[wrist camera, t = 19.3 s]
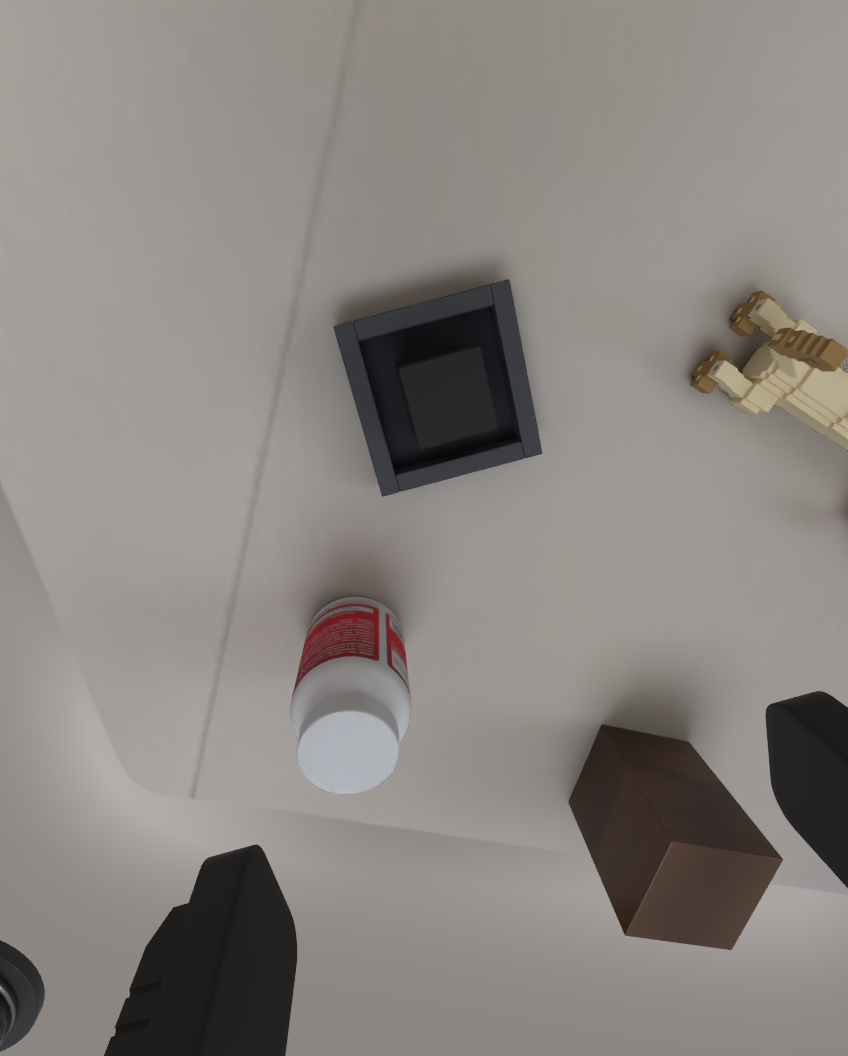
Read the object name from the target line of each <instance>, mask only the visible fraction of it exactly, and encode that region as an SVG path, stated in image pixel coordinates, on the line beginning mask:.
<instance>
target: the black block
mask: <svg viewBox="0 0 848 1056" xmlns="http://www.w3.org/2000/svg"><path fill="white" fill-rule="evenodd" d="M395 367H396V371H397V375H398V379H399V382H400V386H401V390H402V393H403V397H404V401H405V405H406V408H407V412H408V416H409V419H410V423H411V427H412V430H413V434H414V437H415V439H416V442H417V444H418V446H419V448H420V450H422V449H425V448H429V447H433V446H436V445H440V444H443V443H447V442H451V441H454V440H458V439H461V438H465V437H469V436H472V435H476V434H479V433H483V432H487V431H490V430H494V429H497V428H498V424H497V419H496V415H495V410H494V406H493V401H492V397H491V392H490V388H489V383H488V379H487V374H486V370H485V365H484V361H483V356H482V352H481V347H480V346H465V347H461V348H458V349H454V350H451V351H447V352H443V353H440V354H436V355H433V356H429V357H425V358H422V359H418V360H415V361H411V362H407V363H404V364H400V365H397V366H395Z"/></svg>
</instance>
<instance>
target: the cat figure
mask: <svg viewBox="0 0 848 1056" xmlns="http://www.w3.org/2000/svg"><path fill="white" fill-rule="evenodd" d="M774 301H775V299H774V298H772V297H771V296H769V295H768V294H766V293H765V292H764V291H759V292H755V293H753V294H752V295H751V297H750V298H749V300H748V301H747V302H746V303H744V304H740V305H739V307H738V308H737V310H736V311H735V313H734V314H733V316H732V317H731V318H730V319H731V320H732V321H733V323H732V324H731V326H730V327H729V328H730V329H732V330H733V331H735V332H736V333H738V334H739V335H740V336H748V335H751V334H752V333H753V331H754V330H755V328H756V327H757V326H760V328H759V329H760V330H762V331H763V332H764V333H766V334H767V335H769V337H768V338H769V339H770V342H766V343H764V344H763V346H762V347H761V348H758V349H757V350H756V352H755V353H754V354H753V356H752V357H751V359H750V360H749V362H748V363H747V364H746V366H745V367H744V369H743V370H742V372H743V374H742V373H740V372H739V371H738V369H737V368H736V367H734V366H733V365H731V363H732V361H733V359H732V358H730V357H729V356H727V355H726V354H724V353H723V352H721V351H716V352H712V353H711V355H710V356H709V358H708V359H707V360H706V361H702V362H700V364H699V365H698V366H697V368H696V369H695V371H694V372H693V374H692V375H691V376H693V377H694V379H693V381H692V382H691V384H690V385H691V386H692V387H694V388H695V389H697V390H699V391H700V392H702V393H711V391H712V390H713V388H714V387H715V385H716V384H718V385H719V386H718V387H719V388H721V389H722V390H724V391H725V392H727V393H728V395H729V396H730V397H729V398H731V400H730V401H729V403H731V404H732V405H734V406H735V407H737V408H738V409H740V410H741V411H743V412H744V413H750V414H758V412H766V413H768V412H769V411H770V409H771V408H772V406H773V405H775V406H779V407H780V408H782V409H783V410H785V411H786V412H788V413H789V414H791V415H792V416H794V417H795V418H797V419H798V420H800V421H801V422H803V423H804V424H806V425H807V426H809V427H810V428H812V429H813V430H815V431H816V432H818V433H822V434H823V435H825V436H826V437H828V438H829V439H831V440H832V441H834V442H835V443H837V444H838V445H840V446H841V447H843V448H844V449H846V450H847V451H848V374H847V373H846V372H844V371H843V370H842V369H840V368H839V365H840V364H841V363H842V361H843V360H844V359H845V357H846V356H847V355H848V353H847V351H848V349H846V348H845V347H843V346H842V345H840V344H839V343H838V342H836V341H835V340H833V339H829V340H828V339H827V338H825V337H824V336H817V335H816V333H817V330H815V329H814V328H813V327H811V326H810V325H808V324H807V323H806V322H804V321H803V320H801V319H797V320H790V319H789V318H787V317H786V315H787V314H786V313H785V312H783V311H782V310H781V308H782V307H781V306H779V305H778V304H776V303H775V302H774Z"/></svg>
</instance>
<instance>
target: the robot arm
mask: <svg viewBox="0 0 848 1056" xmlns="http://www.w3.org/2000/svg"><path fill="white" fill-rule="evenodd" d="M766 727H767V740H768V752H769V764H770V776H771V785H772V789H773V792H774V795H775V798H776V800H777V802H778V804H779V806H780V808H781V810H782V812H783V814H784V815H785V817H786V818H787V820H788V821H789V823H790V824H791V825H792V826H793V828H794V829H795V830H796V831H797V832H798V833H799V834H800V836H801V837H802V838H803V839H804V840H805V841H806V842H807V843H808V844H809V846H810V847H811V848H812V849H813V850H814V851H815V852H816V853H817V854H818V856H819V857H820V858H821V859H822V860H823V861H824V862H825V863H826V864H827V866H828V867H829V868H830V869H831V870H832V871H833V872H834V873H835V874H836V876H837V877H838V878H839V879H840V880H841V881H842V882H843V883H844V884H845V886H846V887H847V888H848V708H847V707H846V706H845V705H843V704H842V703H841V702H839V701H838V700H836V699H835V698H834V697H832V696H831V695H829V694H827V693H825V692H821V691H816V692H812V693H809V694H805V695H801V696H798V697H794V698H791V699H787V700H783V701H780V702H776V703H772V704H770V705H769V706H768V707H767V709H766ZM296 963H297V940H296V931H295V925H294V921H293V917H292V915H291V912H290V910H289V908H288V905H287V903H286V901H285V898H284V896H283V894H282V891H281V889H280V887H279V885H278V882H277V880H276V878H275V876H274V873H273V871H272V869H271V866H270V864H269V862H268V860H267V857H266V855H265V853H264V851H263V850H262V848H261V847H260V846H259V845H252V846H248V847H245V848H241V849H238V850H234V851H231V852H227V853H223V854H220V855H216V856H213V857H209V858H207V859H206V860H205V861H204V863H203V864H202V866H201V869H200V871H199V874H198V877H197V880H196V883H195V886H194V889H193V892H192V895H191V898H190V901H189V903H188V904H184V905H180V906H177V907H174V908H173V909H172V910H171V912H170V913H169V914H168V916H167V917H166V919H165V920H164V922H163V923H162V924H161V926H160V927H159V929H158V930H157V932H156V933H155V934H154V936H153V937H152V939H151V940H150V942H149V943H148V945H147V946H146V948H145V951H144V953H143V956H142V959H141V961H140V964H139V966H138V969H137V972H136V974H135V976H134V979H133V982H132V984H131V987H130V997H129V998H126V1000H125V1002H124V1005H123V1008H122V1011H121V1013H120V1015H119V1018H118V1021H117V1023H116V1026H115V1028H116V1033H115V1036H113V1037H111V1039H110V1041H109V1044H108V1047H107V1049H106V1052H105V1055H104V1056H285V1053H286V1045H287V1037H288V1029H289V1021H290V1013H291V1005H292V997H293V989H294V981H295V973H296V965H297V964H296ZM18 1011H19V1005H18V1000H17V997H16V994H15V992H14V991H13V989H12V987H11V986H10V985H9V984H8V983H7V982H6V981H5V980H4V979H3V978H2V977H1V976H0V1046H1V1044H2V1042H3V1041H4V1039H5V1038H6V1037H7V1036H8V1034H9V1032H10V1031H11V1029H12V1027H13V1025H14V1023H15V1021H16V1019H17V1016H18Z"/></svg>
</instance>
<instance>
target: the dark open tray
mask: <svg viewBox="0 0 848 1056" xmlns="http://www.w3.org/2000/svg"><path fill="white" fill-rule="evenodd" d="M334 330H335V334H336V337H337V341H338V344H339V348H340V351H341V355H342V358H343V361H344V365H345V368H346V372H347V375H348V379H349V382H350V386H351V389H352V393H353V396H354V400H355V403H356V407H357V410H358V414H359V417H360V421H361V424H362V428H363V431H364V435H365V438H366V442H367V445H368V449H369V452H370V455H371V459H372V462H373V466H374V469H375V473H376V476H377V480H378V483H379V487H380V490H381V494H382V496H387V495H390V494H394V493H398V492H399V491H405V490H408V489H412V488H416V487H419V486H423V485H427V484H431V483H434V482H438V481H442V480H446V479H449V478H453V477H457V476H461V475H464V474H468V473H472V472H475V471H479V470H483V469H487V468H490V467H494V466H498V465H502V464H505V463H509V462H513V461H516V460H520V459H523V458H528V457H532V456H536V455H539V454H542V450H541V445H540V439H539V434H538V429H537V424H536V418H535V413H534V408H533V402H532V397H531V392H530V387H529V381H528V376H527V371H526V365H525V360H524V355H523V350H522V344H521V339H520V334H519V328H518V323H517V318H516V313H515V307H514V302H513V297H512V291H511V286H510V281H509V280H504V281H501V282H497V283H493V284H490V285H486V286H482V287H478V288H475V289H471V290H467V291H463V292H460V293H456V294H452V295H448V296H445V297H441V298H437V299H434V300H430V301H426V302H422V303H419V304H415V305H411V306H407V307H404V308H400V309H396V310H392V311H389V312H385V313H381V314H377V315H374V316H370V317H366V318H363V319H359V320H355V321H353V322H352V321H351V322H347V323H344V324H340V325H336V326H334ZM465 346H480V347H481V352H482V356H483V361H484V365H485V370H486V374H487V379H488V383H489V388H490V392H491V397H492V401H493V406H494V410H495V415H496V419H497V424H498V428H497V429H494V430H490V431H487V432H483V433H479V434H476V435H472V436H469V437H465V438H461V439H458V440H454V441H451V442H447V443H443V444H440V445H436V446H433V447H429V448H425V449H422V450H420V448H419V446H418V444H417V442H416V439H415V437H414V434H413V430H412V427H411V423H410V419H409V416H408V412H407V408H406V405H405V401H404V397H403V393H402V390H401V386H400V382H399V379H398V375H397V371H396V367H395V366H397V365H400V364H404V363H407V362H411V361H415V360H418V359H422V358H425V357H429V356H433V355H436V354H440V353H443V352H447V351H451V350H454V349H458V348H461V347H465Z"/></svg>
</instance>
